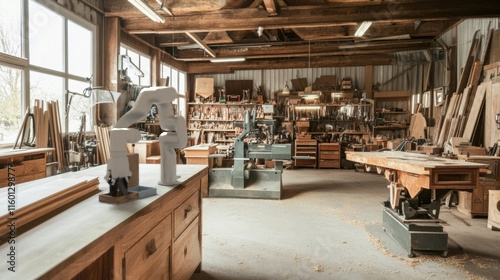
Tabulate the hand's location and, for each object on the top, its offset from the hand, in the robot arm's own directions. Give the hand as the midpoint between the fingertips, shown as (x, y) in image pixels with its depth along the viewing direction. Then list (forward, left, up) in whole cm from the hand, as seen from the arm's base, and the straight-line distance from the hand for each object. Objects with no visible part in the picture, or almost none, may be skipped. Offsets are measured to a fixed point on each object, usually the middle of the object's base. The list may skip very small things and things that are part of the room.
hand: (118, 191), depth 153 cm
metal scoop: (-6, -11, -5) cm, 13 cm away
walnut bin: (0, 0, -4) cm, 4 cm away
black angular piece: (0, 0, -4) cm, 4 cm away
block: (-20, -16, -4) cm, 26 cm away
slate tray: (-13, 0, -4) cm, 14 cm away
